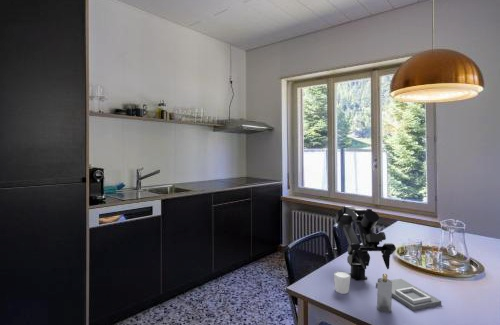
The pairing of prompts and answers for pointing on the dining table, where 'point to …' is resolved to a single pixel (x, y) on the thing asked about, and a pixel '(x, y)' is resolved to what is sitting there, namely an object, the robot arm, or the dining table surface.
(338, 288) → the shot glass
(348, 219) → the robot arm
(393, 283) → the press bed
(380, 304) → the gold-capped silver bottle
